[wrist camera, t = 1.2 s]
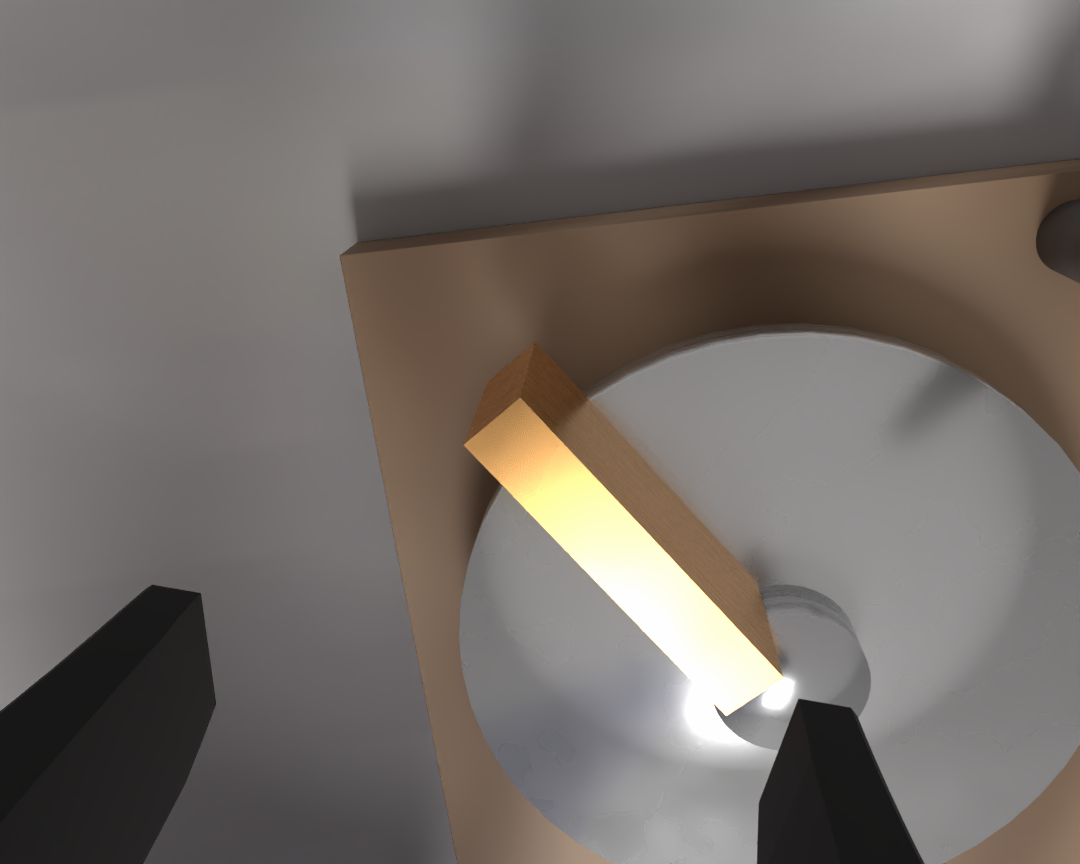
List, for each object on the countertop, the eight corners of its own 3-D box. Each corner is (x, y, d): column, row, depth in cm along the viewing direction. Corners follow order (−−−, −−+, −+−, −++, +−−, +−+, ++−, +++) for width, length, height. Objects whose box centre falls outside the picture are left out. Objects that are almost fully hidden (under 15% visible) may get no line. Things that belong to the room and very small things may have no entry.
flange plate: (509, 879, 24) (489, 1039, 20) (416, 340, 20) (366, 412, 16) (1078, 853, 23) (1175, 1020, 19) (1122, 265, 18) (1262, 324, 14)
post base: (473, 866, 27) (441, 1054, 22) (357, 243, 22) (277, 302, 16) (1091, 836, 26) (1211, 1033, 21) (1145, 151, 20) (1331, 185, 15)
